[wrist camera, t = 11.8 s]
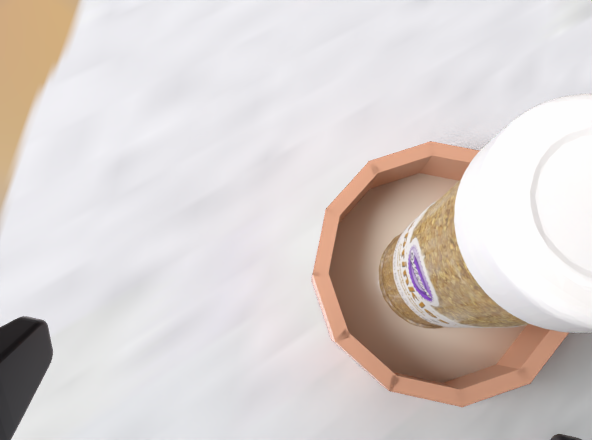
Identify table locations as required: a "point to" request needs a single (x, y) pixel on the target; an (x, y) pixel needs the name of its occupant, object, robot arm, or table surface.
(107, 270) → the table surface
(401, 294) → the sprinkles bottle
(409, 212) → the terracotta bowl
